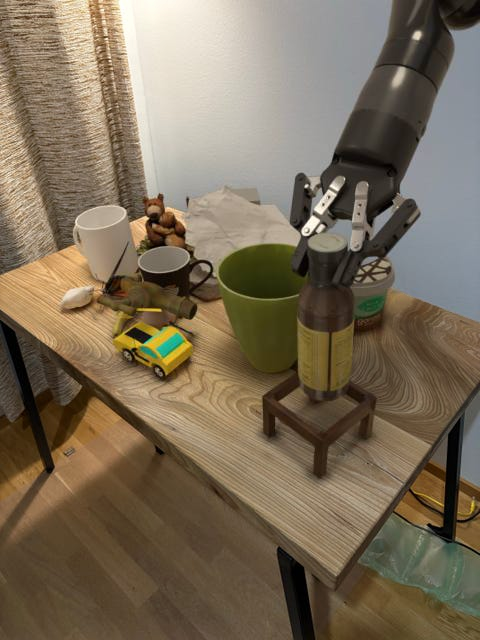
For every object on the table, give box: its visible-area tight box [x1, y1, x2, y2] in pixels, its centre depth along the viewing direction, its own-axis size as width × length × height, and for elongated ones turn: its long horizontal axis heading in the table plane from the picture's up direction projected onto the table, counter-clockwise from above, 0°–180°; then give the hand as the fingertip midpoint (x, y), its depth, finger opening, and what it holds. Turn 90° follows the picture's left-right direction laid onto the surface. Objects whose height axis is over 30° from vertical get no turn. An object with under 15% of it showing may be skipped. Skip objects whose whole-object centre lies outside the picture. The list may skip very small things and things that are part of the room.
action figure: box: [96, 272, 198, 321], centre depth 82 cm, size 15×4×15 cm
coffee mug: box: [138, 246, 213, 319], centre depth 91 cm, size 12×9×10 cm
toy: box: [230, 187, 261, 205], centre depth 110 cm, size 10×8×15 cm
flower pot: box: [216, 243, 309, 374], centre depth 78 cm, size 15×15×16 cm
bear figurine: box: [136, 192, 198, 264], centre depth 105 cm, size 14×15×12 cm
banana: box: [112, 311, 129, 337], centre depth 91 cm, size 8×2×4 cm
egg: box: [142, 309, 177, 331], centre depth 88 cm, size 5×5×7 cm
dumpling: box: [59, 285, 97, 310], centre depth 96 cm, size 7×5×4 cm
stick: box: [169, 321, 195, 337], centre depth 86 cm, size 6×1×2 cm
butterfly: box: [90, 241, 129, 313], centre depth 94 cm, size 12×10×10 cm
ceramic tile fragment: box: [190, 264, 222, 301], centre depth 99 cm, size 12×3×10 cm
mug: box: [72, 204, 139, 283], centre depth 102 cm, size 10×12×12 cm
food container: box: [350, 256, 396, 333], centre depth 86 cm, size 12×6×10 cm, turn 126°
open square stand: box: [261, 371, 378, 480], centre depth 68 cm, size 10×10×7 cm
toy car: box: [112, 308, 195, 380], centre depth 81 cm, size 12×8×8 cm, turn 53°
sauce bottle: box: [297, 232, 355, 402], centre depth 59 cm, size 6×6×20 cm
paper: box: [179, 184, 301, 277], centre depth 100 cm, size 24×6×20 cm
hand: (317, 280), depth 54 cm, fingers closed on sauce bottle, 4 cm apart
